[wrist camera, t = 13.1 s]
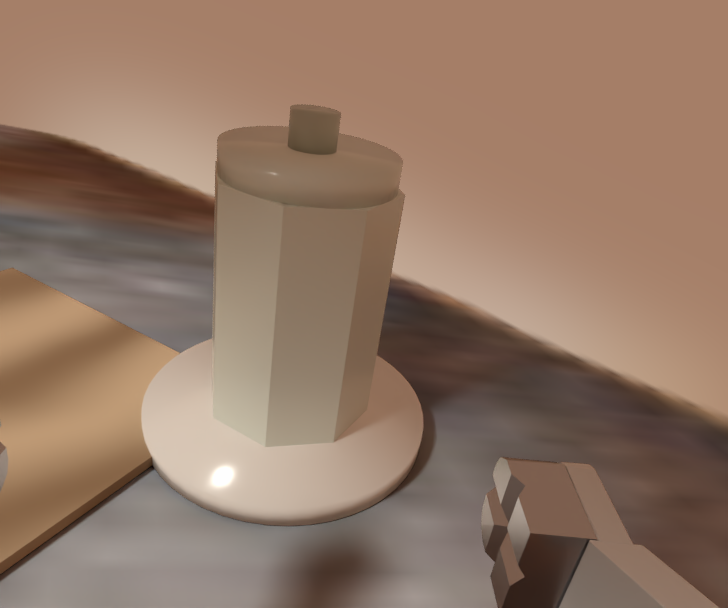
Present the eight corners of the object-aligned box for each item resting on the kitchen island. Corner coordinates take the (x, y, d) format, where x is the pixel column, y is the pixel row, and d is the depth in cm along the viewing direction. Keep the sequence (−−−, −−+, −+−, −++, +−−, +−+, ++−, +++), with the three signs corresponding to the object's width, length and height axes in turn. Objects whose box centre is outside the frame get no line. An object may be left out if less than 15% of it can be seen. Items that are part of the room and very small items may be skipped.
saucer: (76, 428, 21) (74, 410, 21) (265, 319, 30) (266, 305, 29) (324, 587, 17) (327, 569, 16) (459, 405, 26) (463, 391, 25)
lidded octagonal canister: (179, 398, 22) (174, 95, 17) (276, 338, 27) (296, 87, 22) (305, 469, 20) (345, 142, 14) (387, 389, 24) (439, 122, 19)
